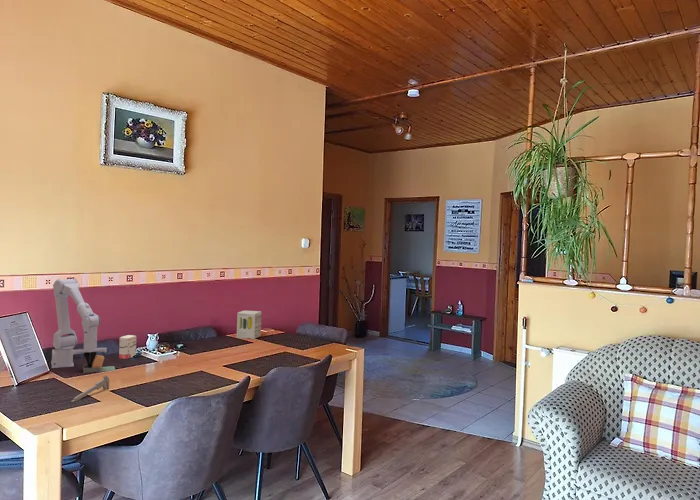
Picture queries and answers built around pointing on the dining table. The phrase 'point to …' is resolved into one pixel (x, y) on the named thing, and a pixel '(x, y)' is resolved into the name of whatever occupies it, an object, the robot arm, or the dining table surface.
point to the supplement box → (249, 324)
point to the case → (90, 369)
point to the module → (97, 361)
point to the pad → (107, 368)
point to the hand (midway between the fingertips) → (89, 367)
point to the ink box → (127, 346)
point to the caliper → (94, 388)
